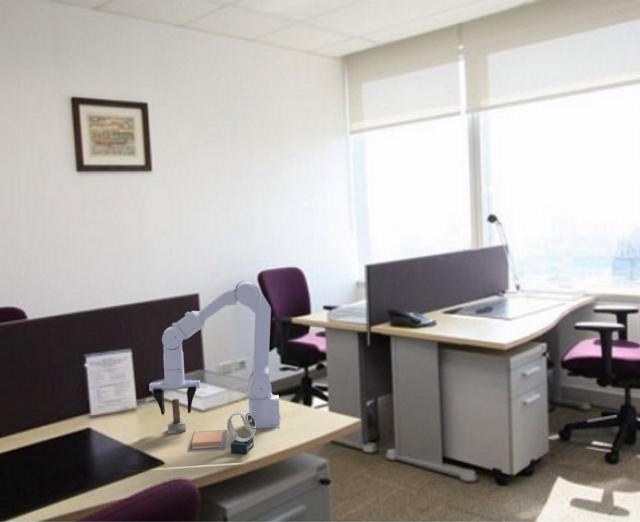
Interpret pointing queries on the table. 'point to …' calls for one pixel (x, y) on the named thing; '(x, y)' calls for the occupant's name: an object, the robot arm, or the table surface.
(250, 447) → the watch
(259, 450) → the table surface
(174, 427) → the trowel
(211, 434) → the tile
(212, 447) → the mat
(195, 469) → the table surface
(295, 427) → the table surface
